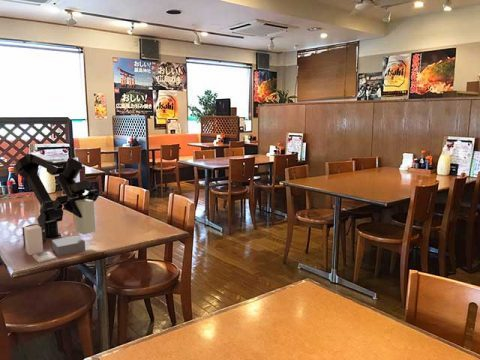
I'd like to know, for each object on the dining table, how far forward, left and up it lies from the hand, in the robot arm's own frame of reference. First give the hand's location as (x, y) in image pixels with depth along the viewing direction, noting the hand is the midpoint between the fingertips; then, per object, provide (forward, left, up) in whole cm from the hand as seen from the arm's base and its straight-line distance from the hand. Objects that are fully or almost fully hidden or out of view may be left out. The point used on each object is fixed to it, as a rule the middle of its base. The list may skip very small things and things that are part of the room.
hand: (87, 215), depth 153 cm
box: (-21, -15, -14) cm, 29 cm away
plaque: (0, -17, -13) cm, 22 cm away
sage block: (-1, 0, -7) cm, 7 cm away
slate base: (-3, -7, -14) cm, 16 cm away
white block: (-9, -18, -13) cm, 24 cm away
